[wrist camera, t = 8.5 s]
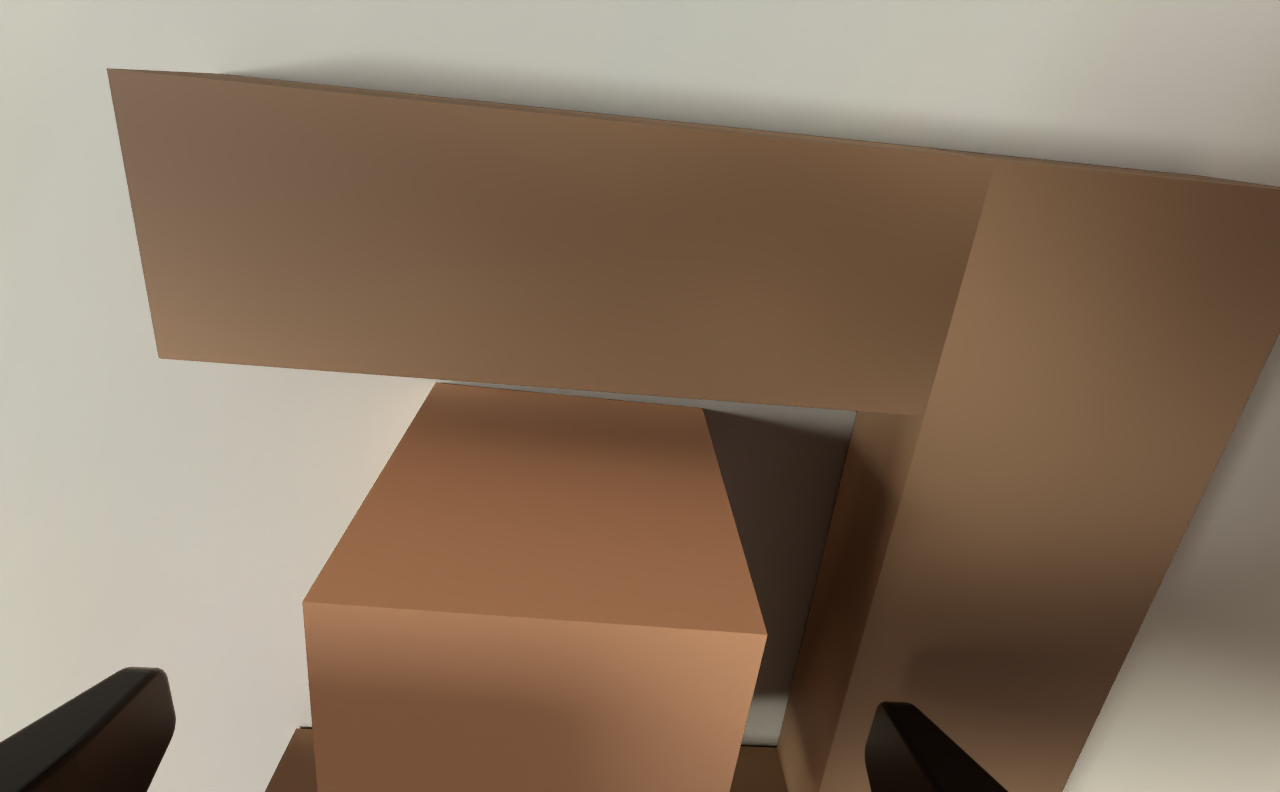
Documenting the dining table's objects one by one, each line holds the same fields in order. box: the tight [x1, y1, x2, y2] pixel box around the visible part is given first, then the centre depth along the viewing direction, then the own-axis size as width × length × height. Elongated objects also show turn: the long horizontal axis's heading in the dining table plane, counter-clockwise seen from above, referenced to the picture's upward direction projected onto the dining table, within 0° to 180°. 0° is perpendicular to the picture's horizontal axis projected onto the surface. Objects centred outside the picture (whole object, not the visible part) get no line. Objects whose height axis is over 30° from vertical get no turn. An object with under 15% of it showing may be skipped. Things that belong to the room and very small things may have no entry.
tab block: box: [302, 383, 768, 792], centre depth 10 cm, size 6×4×5 cm, turn 173°
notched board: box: [107, 69, 1280, 792], centre depth 11 cm, size 14×13×2 cm
